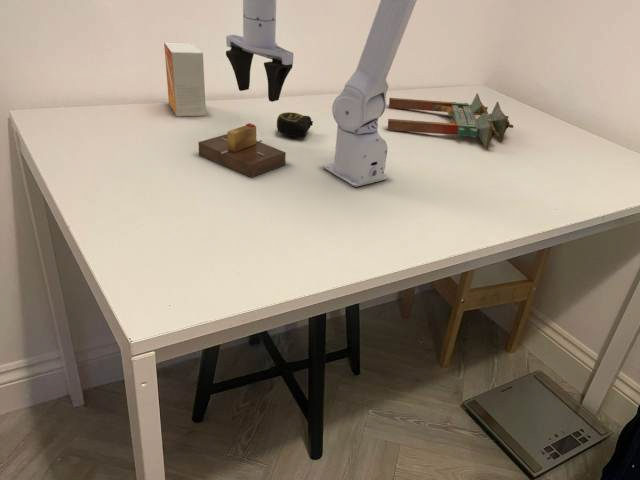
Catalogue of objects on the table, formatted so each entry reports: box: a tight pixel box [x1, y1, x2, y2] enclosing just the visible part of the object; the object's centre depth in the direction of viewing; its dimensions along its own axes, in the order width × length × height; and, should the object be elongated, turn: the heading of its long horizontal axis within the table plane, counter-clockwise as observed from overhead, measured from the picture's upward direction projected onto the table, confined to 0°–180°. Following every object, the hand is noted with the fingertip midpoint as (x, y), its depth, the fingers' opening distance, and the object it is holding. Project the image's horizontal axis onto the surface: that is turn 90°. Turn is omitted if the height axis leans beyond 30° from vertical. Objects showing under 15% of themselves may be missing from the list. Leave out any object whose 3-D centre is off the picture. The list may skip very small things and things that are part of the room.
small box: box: [163, 41, 207, 117], centre depth 118 cm, size 8×6×13 cm
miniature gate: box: [387, 93, 514, 151], centre depth 137 cm, size 27×6×30 cm
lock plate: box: [198, 133, 287, 178], centre depth 103 cm, size 13×10×3 cm
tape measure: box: [276, 111, 314, 138], centre depth 118 cm, size 7×7×4 cm
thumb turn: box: [227, 122, 257, 152], centre depth 101 cm, size 6×2×4 cm, turn 152°
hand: (258, 95), depth 107 cm, fingers open, 7 cm apart
